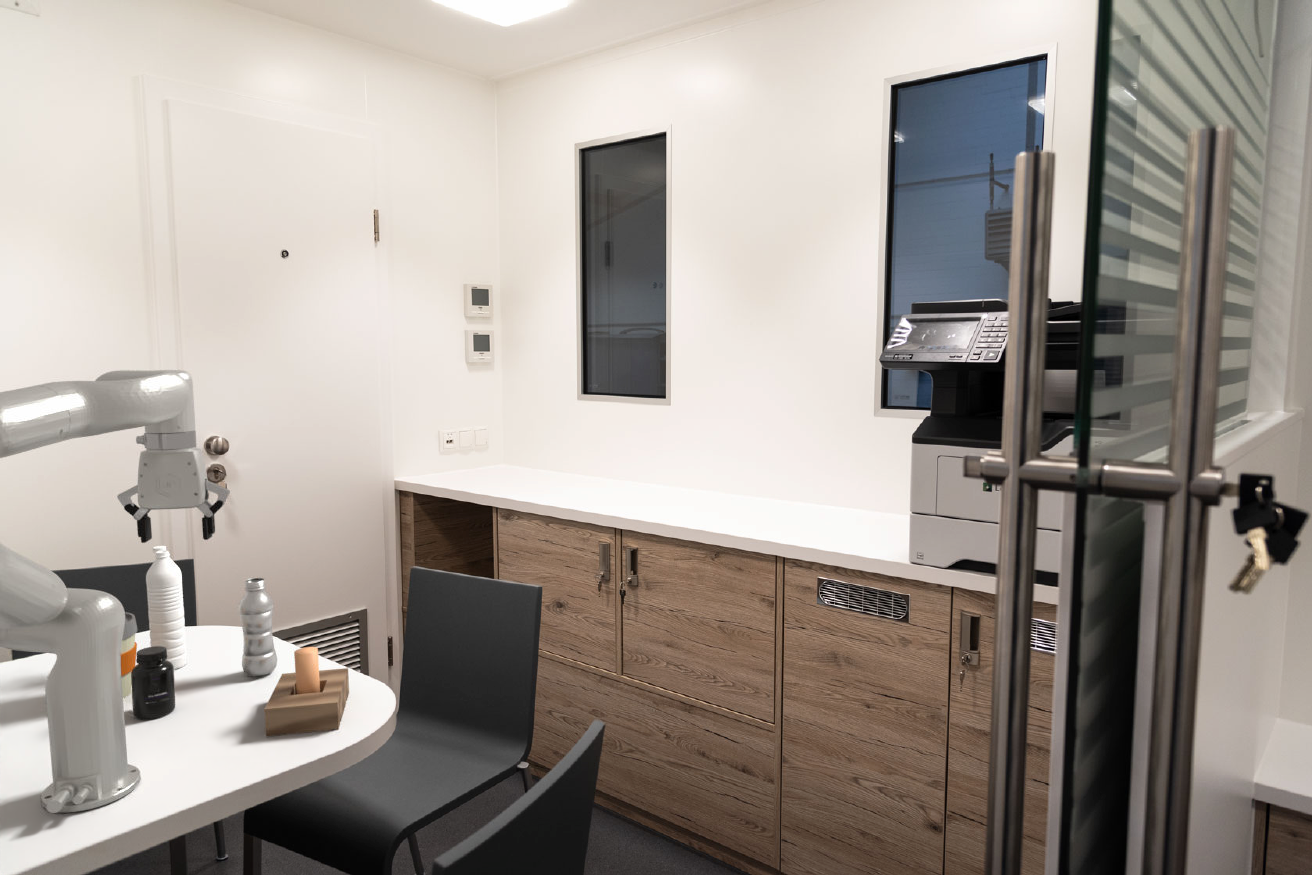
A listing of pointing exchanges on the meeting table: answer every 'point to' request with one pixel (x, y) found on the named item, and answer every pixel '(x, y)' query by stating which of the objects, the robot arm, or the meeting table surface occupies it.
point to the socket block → (307, 704)
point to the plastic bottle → (257, 629)
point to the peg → (307, 670)
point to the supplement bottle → (152, 684)
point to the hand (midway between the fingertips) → (177, 539)
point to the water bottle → (166, 607)
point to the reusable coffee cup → (128, 652)
